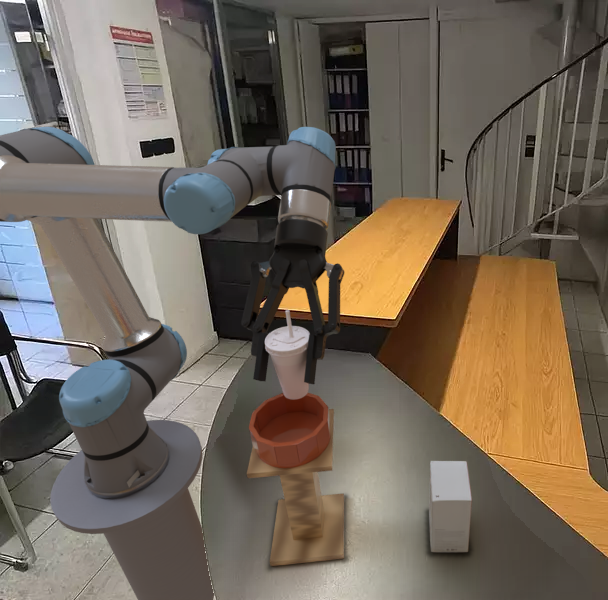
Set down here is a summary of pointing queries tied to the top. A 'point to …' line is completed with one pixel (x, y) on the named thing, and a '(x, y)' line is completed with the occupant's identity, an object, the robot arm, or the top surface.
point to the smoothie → (289, 357)
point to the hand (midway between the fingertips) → (284, 381)
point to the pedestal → (304, 511)
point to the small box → (449, 506)
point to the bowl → (290, 430)
